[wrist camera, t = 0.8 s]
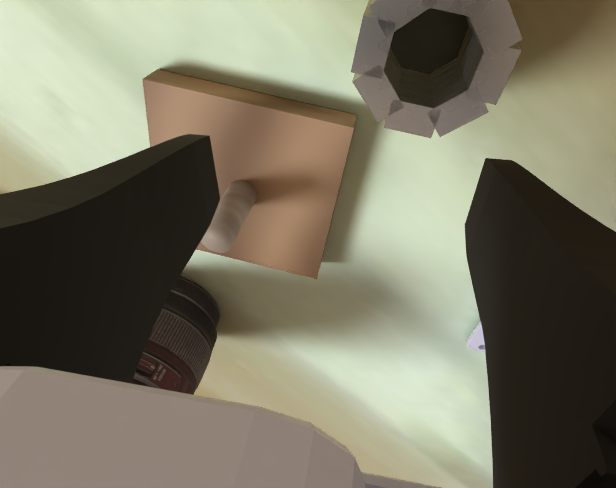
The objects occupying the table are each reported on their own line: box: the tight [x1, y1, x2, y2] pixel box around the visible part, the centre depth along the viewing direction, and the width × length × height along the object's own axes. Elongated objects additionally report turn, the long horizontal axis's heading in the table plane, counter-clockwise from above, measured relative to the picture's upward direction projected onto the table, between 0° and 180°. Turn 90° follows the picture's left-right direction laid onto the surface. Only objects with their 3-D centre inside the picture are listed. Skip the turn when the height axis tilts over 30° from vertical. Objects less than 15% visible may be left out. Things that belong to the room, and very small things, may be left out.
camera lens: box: [131, 277, 219, 395], centre depth 26 cm, size 8×8×15 cm
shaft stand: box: [143, 69, 357, 279], centre depth 21 cm, size 10×10×6 cm
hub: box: [351, 0, 523, 138], centre depth 15 cm, size 5×5×4 cm
